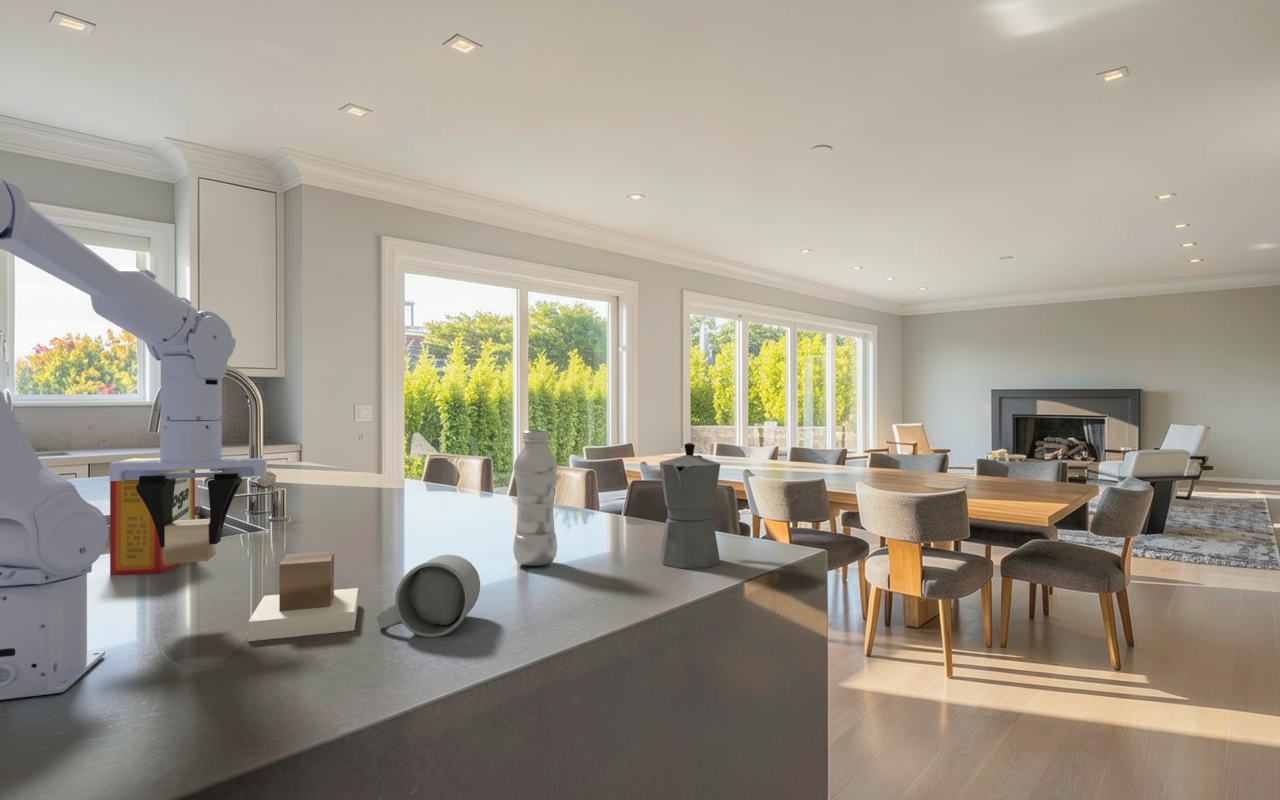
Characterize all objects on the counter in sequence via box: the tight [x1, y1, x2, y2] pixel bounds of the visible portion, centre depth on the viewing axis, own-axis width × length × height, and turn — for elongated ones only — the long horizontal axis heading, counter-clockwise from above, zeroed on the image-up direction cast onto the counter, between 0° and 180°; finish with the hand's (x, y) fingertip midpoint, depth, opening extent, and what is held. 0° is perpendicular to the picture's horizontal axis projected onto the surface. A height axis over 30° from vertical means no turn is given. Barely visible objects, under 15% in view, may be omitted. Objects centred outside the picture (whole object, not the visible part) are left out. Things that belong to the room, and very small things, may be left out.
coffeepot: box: [658, 442, 721, 570], centre depth 108 cm, size 15×9×18 cm, turn 164°
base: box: [247, 587, 359, 642], centre depth 78 cm, size 10×10×2 cm
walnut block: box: [278, 551, 335, 611], centre depth 78 cm, size 5×5×5 cm
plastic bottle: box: [512, 429, 558, 567], centre depth 105 cm, size 6×7×20 cm
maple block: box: [165, 518, 217, 564], centre depth 78 cm, size 4×4×4 cm
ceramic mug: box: [375, 554, 481, 638], centre depth 77 cm, size 11×8×8 cm
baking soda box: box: [109, 457, 196, 576], centre depth 104 cm, size 10×6×16 cm
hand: (191, 544), depth 77 cm, fingers closed on maple block, 4 cm apart
